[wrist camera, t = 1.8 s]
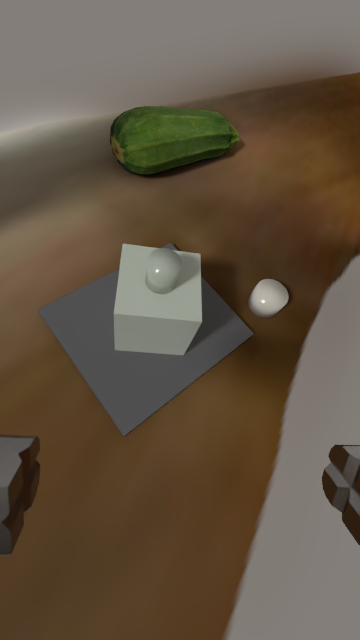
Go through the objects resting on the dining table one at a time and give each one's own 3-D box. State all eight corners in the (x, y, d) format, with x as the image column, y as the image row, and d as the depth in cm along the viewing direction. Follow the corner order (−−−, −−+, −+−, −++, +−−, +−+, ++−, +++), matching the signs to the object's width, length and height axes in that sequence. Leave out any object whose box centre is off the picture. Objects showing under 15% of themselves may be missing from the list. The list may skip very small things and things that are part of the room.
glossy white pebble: (241, 300, 33) (249, 288, 31) (261, 286, 34) (271, 273, 32) (263, 324, 32) (273, 313, 30) (283, 308, 33) (295, 297, 31)
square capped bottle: (114, 350, 27) (113, 295, 18) (122, 291, 30) (123, 221, 21) (183, 355, 28) (211, 305, 19) (183, 297, 31) (207, 233, 22)
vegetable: (107, 94, 32) (246, 82, 39) (97, 135, 38) (218, 118, 46) (132, 160, 32) (264, 136, 40) (119, 189, 39) (234, 164, 47)
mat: (39, 312, 28) (37, 309, 27) (170, 246, 34) (170, 242, 34) (124, 436, 24) (124, 436, 24) (251, 335, 31) (253, 333, 30)
